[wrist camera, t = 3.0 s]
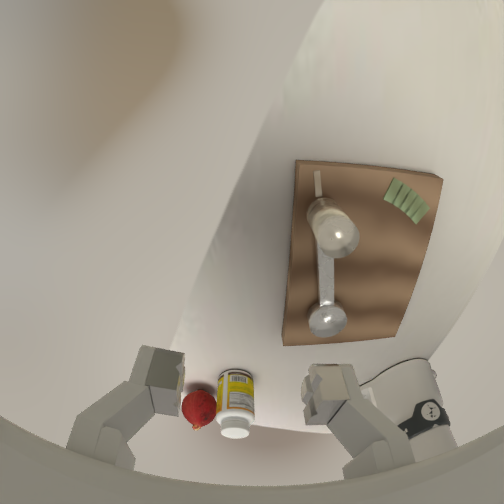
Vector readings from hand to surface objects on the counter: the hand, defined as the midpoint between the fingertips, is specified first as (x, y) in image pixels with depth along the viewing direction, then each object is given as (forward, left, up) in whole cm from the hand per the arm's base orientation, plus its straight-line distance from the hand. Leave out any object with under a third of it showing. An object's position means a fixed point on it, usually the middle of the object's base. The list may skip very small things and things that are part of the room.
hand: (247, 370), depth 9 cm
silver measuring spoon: (-8, -8, -19) cm, 22 cm away
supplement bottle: (-30, +2, -21) cm, 37 cm away
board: (-8, -13, -21) cm, 26 cm away
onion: (-34, +8, -21) cm, 41 cm away
